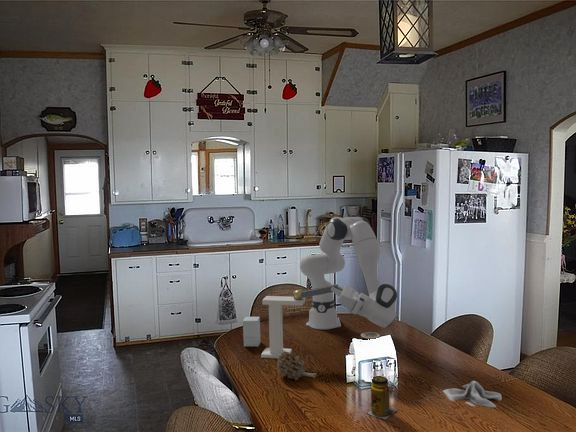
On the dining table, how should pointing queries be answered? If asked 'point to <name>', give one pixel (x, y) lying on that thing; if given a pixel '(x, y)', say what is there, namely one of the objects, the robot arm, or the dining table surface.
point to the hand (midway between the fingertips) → (332, 286)
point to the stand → (277, 323)
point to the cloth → (473, 395)
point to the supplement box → (251, 331)
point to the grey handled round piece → (292, 366)
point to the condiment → (380, 398)
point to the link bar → (313, 292)
